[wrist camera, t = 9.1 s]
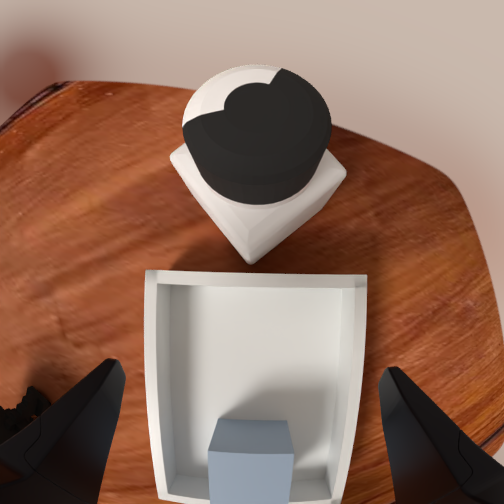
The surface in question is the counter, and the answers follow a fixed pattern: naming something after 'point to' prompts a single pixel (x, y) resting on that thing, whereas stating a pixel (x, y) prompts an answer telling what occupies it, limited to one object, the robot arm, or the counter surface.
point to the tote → (253, 371)
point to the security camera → (21, 414)
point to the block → (250, 462)
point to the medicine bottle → (258, 155)
